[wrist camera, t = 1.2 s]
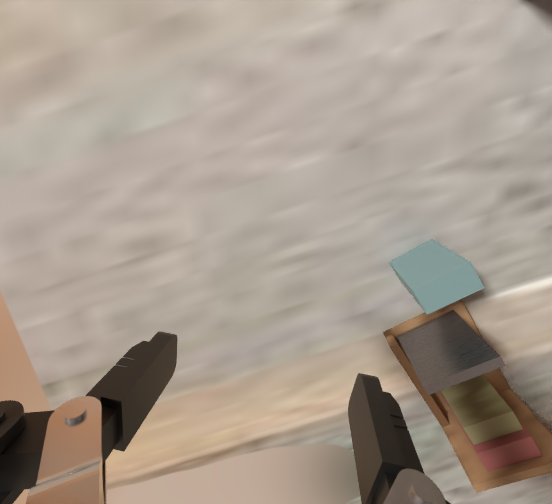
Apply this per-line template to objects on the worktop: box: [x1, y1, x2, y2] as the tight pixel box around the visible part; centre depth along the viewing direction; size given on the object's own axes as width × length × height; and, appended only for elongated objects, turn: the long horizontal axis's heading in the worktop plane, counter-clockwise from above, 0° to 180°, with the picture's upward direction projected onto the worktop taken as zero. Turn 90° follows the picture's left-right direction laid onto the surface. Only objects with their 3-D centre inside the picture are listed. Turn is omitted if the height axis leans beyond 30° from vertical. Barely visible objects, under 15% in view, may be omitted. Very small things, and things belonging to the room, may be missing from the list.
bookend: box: [397, 310, 505, 395], centre depth 30 cm, size 7×1×8 cm, turn 124°
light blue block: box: [389, 239, 484, 315], centre depth 29 cm, size 6×3×8 cm, turn 124°
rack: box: [383, 300, 552, 492], centre depth 32 cm, size 10×16×10 cm, turn 34°
